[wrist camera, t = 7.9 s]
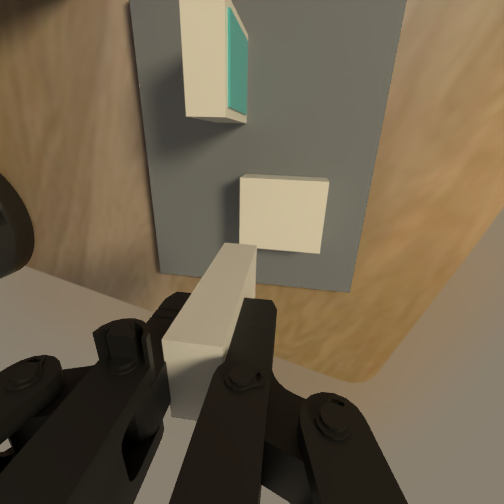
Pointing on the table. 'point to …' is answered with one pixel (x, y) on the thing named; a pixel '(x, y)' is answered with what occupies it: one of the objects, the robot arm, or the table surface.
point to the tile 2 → (282, 212)
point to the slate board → (269, 129)
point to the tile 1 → (214, 61)
